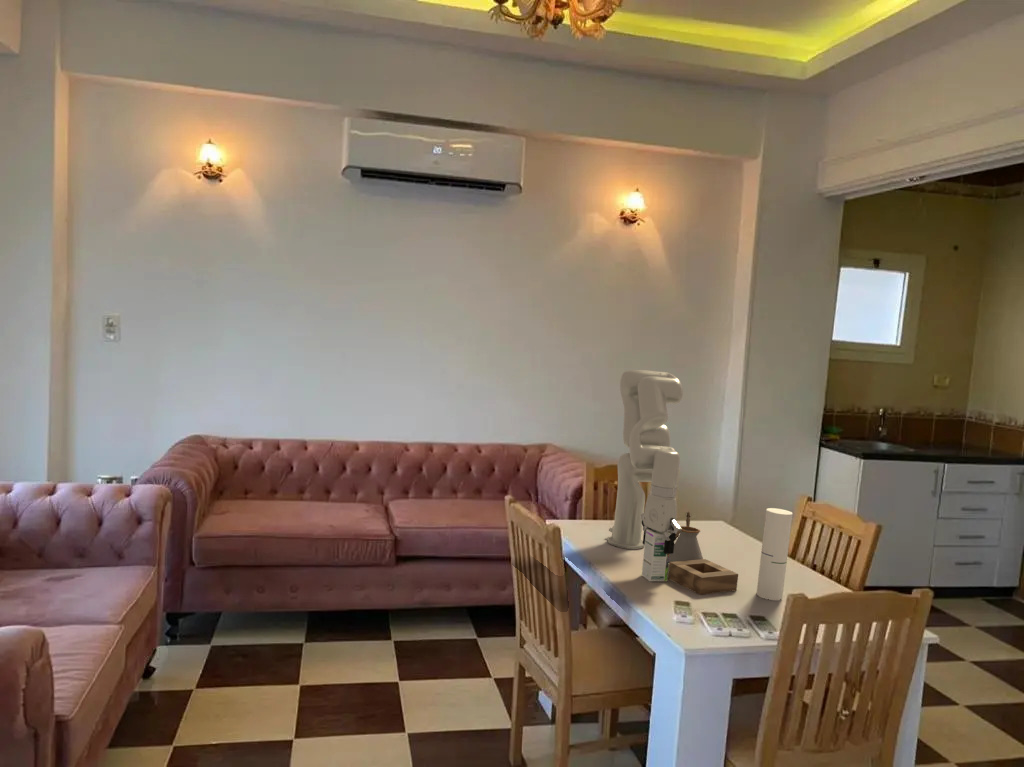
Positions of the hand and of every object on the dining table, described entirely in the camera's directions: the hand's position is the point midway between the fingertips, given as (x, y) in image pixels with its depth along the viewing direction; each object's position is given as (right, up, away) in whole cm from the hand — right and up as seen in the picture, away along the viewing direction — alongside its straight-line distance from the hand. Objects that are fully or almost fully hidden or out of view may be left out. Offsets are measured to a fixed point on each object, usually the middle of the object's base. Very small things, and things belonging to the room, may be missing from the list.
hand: (657, 548), depth 225 cm
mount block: (+13, -11, 0) cm, 17 cm away
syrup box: (-1, -9, +1) cm, 9 cm away
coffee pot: (+12, -9, +18) cm, 24 cm away
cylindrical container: (+31, -13, -5) cm, 34 cm away
